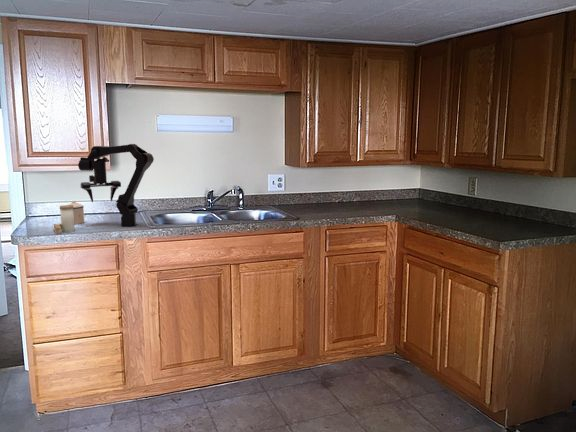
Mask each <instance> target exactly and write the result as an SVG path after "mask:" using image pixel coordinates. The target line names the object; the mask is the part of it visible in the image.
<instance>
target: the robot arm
mask: <svg viewBox="0 0 576 432" xmlns="http://www.w3.org/2000/svg"><path fill="white" fill-rule="evenodd" d="M124 153H130V154H131V156H133V158H134V159H135V160H136V161H135V170H134V171H133V174H132V176H131V179H130V181H129V183H128V185H127V188H126V189H125V192H124V193H121V194H119V195H118V198H117V200H116V201H115V202H116V204H115V205H116V208H117V210H118V212H119V214H120V215H121V216H120V223H121V227H136V225H138V223H137V213H138V210H139V208H138V207H137V206H136V205H135V204H134V203H135V195H136V192H137V190H138V188H139V187H140V186H139V185H140V183H141V182H142V179H143V177H144V175H145V172H146V171H147V170H148V169H149V168H150V167H151V166H152V164H153V162H154V161H155V158H154V156H153V154H151V153H150V152H147V151H146V150H145V149H143V148H141V147H139V146H138V144H135V143H129V144H123V145H116V146H108V145H106V146H105V145H94V146H92V148H91V150H90V152H89V153H88V156H87V157H85V156H83V157H80V160H79V161H78V164H77V166H78V169H79V170H80V171H83V172H85V171H86V172H93V174H94V175H92V174H91V175H89V177H88V179H89V181H85V182H84V181H83V182H80V189H83V190H84V191H86V193H87V194H88V195H89V198H90V201H91V203H94V197H93V190H92V187H93V188H96V187H110V202H112V201H113V198H114V196H115V193H116V191H117V189H119V188H121V187H122V185H121V183H122V182H121V181H119V180H111V181H110V182H107V179H108V178H107V164H106V163H109V162H110V160H109V159H108V158H107V157H109V156H110V155H114V154H115V155H116V154H124Z"/></svg>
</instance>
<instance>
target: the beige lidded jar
mask: <svg viewBox="0 0 576 432" xmlns="http://www.w3.org/2000/svg"><path fill="white" fill-rule="evenodd" d="M68 205H73V215H74V225H81V224H84V223H85V215H84V211H85V210H84V205H83V204H81V203H79V202H77V201H76V200H72V201H71V202H70V203H69V204H68Z"/></svg>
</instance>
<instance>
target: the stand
mask: <svg viewBox="0 0 576 432" xmlns="http://www.w3.org/2000/svg"><path fill="white" fill-rule="evenodd" d="M74 229H75V226H74ZM53 230H54V232H55V234H56V235H61V234H63V232H62V226H61V223H53Z"/></svg>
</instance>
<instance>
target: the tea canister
mask: <svg viewBox="0 0 576 432" xmlns="http://www.w3.org/2000/svg"><path fill="white" fill-rule="evenodd" d="M59 210H60V221H61V222H60V224H61V226H62V230H61V233H71V232H75V229H74V227H75V224H74V215H73V205H69V204H65V205H59Z"/></svg>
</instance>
